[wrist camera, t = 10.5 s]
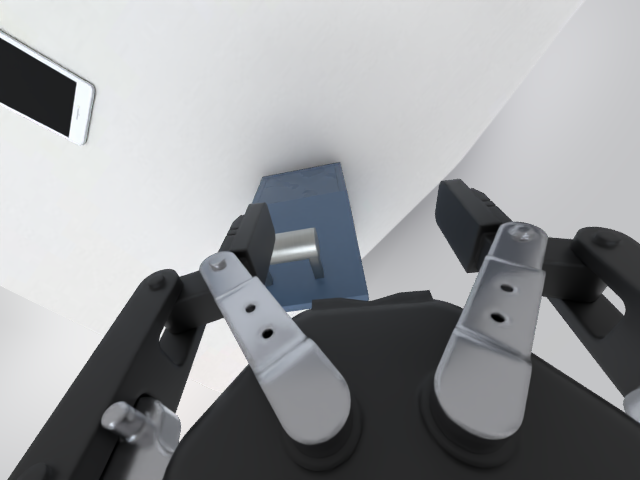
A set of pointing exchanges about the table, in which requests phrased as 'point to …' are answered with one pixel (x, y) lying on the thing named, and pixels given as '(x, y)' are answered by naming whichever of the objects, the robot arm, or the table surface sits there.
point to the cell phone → (44, 91)
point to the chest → (300, 184)
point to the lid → (314, 252)
